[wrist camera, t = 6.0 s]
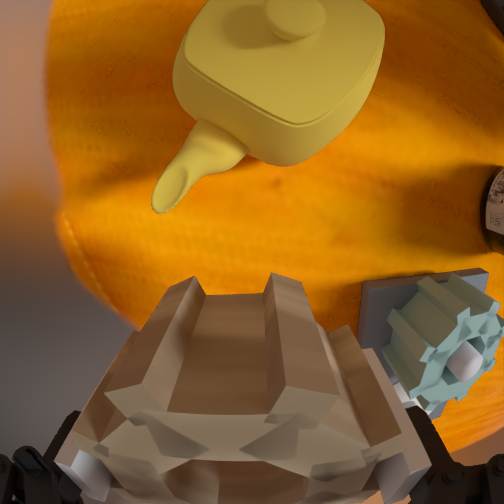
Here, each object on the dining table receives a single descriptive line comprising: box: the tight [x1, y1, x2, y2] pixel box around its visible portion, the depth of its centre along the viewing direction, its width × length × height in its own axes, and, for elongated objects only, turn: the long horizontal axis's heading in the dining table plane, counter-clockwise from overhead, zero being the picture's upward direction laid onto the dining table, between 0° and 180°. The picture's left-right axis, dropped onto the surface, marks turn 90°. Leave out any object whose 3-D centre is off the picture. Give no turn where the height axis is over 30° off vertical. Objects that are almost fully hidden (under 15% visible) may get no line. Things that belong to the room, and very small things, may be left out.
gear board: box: [356, 268, 504, 420], centre depth 21 cm, size 21×14×8 cm, turn 3°
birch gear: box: [72, 272, 405, 504], centre depth 9 cm, size 10×10×6 cm
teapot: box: [151, 0, 385, 214], centre depth 13 cm, size 18×11×11 cm, turn 146°
